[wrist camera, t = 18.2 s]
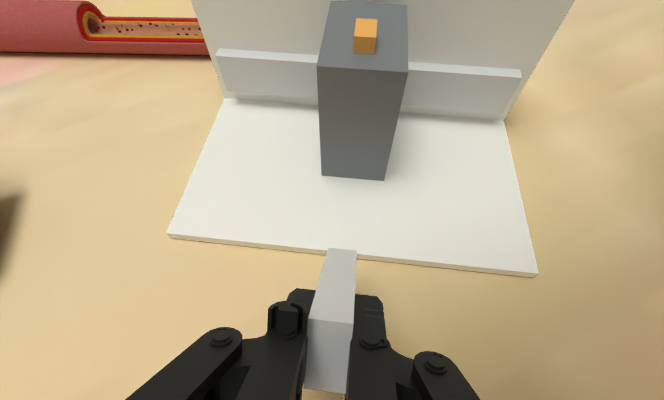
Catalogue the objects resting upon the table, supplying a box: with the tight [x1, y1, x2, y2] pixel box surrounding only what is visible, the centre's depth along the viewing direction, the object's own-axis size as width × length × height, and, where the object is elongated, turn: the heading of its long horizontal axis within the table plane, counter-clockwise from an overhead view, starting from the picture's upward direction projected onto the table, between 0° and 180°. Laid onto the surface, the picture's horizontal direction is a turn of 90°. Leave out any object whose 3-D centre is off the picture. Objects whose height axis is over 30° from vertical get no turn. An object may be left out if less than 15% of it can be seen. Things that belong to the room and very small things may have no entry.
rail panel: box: [166, 0, 575, 278], centre depth 22 cm, size 26×16×14 cm, turn 83°
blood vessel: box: [0, 0, 210, 55], centre depth 35 cm, size 42×5×5 cm, turn 88°
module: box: [316, 1, 408, 181], centre depth 24 cm, size 5×7×11 cm
